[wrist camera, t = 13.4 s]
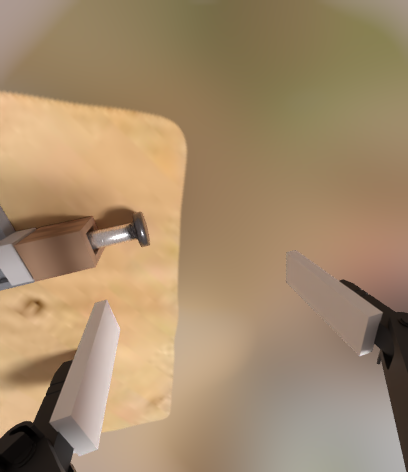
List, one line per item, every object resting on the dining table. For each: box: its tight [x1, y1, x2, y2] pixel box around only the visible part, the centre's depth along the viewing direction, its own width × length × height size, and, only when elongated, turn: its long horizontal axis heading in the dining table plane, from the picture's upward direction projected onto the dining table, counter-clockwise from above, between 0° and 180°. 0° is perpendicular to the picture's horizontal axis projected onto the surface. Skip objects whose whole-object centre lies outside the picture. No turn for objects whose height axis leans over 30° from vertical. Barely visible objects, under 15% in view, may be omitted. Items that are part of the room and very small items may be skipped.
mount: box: [14, 216, 105, 281], centre depth 27 cm, size 7×5×6 cm
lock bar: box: [86, 212, 150, 249], centre depth 28 cm, size 12×5×5 cm, turn 99°
